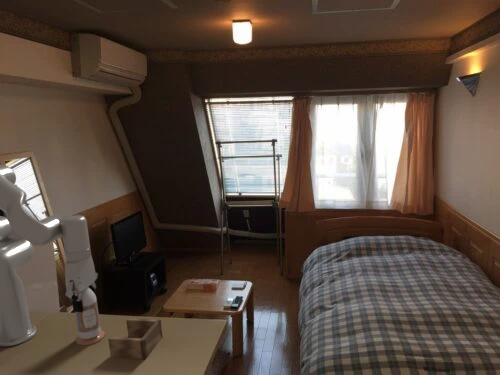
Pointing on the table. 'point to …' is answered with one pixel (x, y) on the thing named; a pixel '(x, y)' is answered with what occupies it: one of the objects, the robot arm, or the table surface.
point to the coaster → (91, 340)
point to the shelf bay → (137, 339)
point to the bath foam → (88, 315)
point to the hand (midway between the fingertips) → (85, 305)
